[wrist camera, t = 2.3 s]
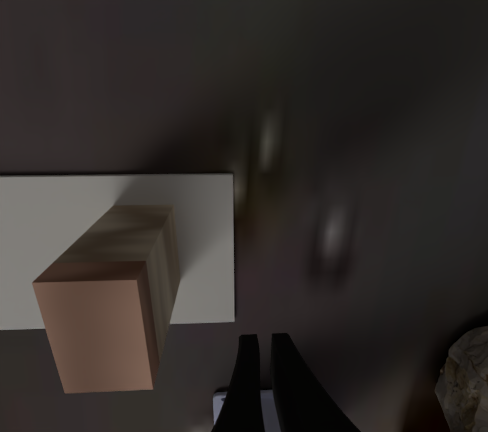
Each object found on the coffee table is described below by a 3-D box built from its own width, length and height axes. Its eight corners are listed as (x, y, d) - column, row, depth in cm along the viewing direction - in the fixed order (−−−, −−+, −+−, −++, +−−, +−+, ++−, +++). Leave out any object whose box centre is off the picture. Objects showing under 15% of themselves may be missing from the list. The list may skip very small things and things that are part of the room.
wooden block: (173, 204, 20) (136, 279, 12) (180, 280, 22) (152, 389, 14) (112, 205, 20) (31, 282, 12) (125, 282, 22) (64, 393, 14)
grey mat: (232, 173, 20) (233, 174, 20) (234, 318, 24) (234, 321, 24) (-84, 176, 19) (-90, 178, 19) (-23, 327, 23) (-27, 330, 23)
